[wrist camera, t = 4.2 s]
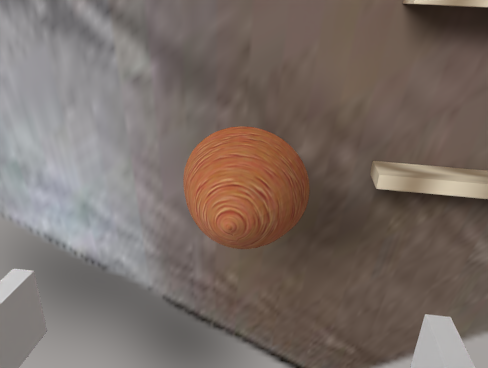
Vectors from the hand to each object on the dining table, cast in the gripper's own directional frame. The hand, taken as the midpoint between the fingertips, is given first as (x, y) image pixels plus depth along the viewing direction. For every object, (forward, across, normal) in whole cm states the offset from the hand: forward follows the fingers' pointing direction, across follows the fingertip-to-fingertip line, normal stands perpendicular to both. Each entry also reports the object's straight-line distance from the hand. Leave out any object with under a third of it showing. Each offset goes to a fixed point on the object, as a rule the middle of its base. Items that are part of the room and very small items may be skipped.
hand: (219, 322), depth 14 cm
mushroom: (+22, -1, 0) cm, 22 cm away
